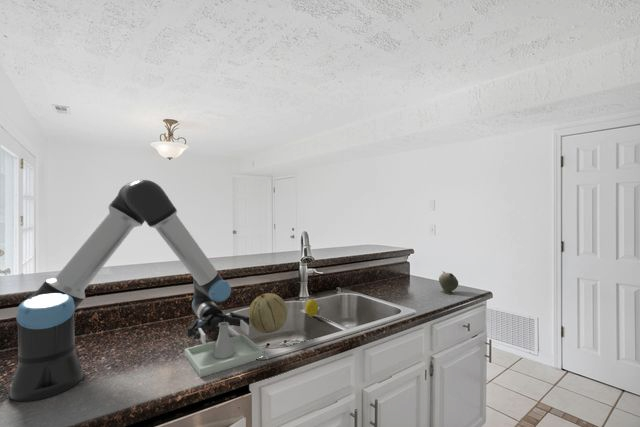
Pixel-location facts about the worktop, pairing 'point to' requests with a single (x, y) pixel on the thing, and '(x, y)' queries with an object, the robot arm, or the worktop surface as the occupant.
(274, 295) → the cantaloupe
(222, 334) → the flask
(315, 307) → the lemon
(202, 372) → the tray
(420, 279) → the worktop surface
